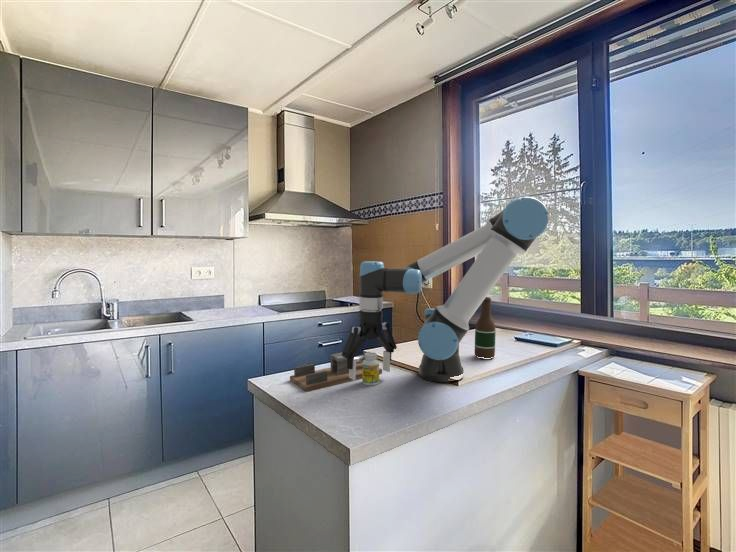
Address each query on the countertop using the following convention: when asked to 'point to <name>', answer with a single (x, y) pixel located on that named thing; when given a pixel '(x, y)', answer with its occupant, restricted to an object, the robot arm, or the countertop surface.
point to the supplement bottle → (370, 369)
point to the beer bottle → (485, 332)
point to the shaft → (358, 358)
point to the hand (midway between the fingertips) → (369, 374)
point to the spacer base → (325, 374)
